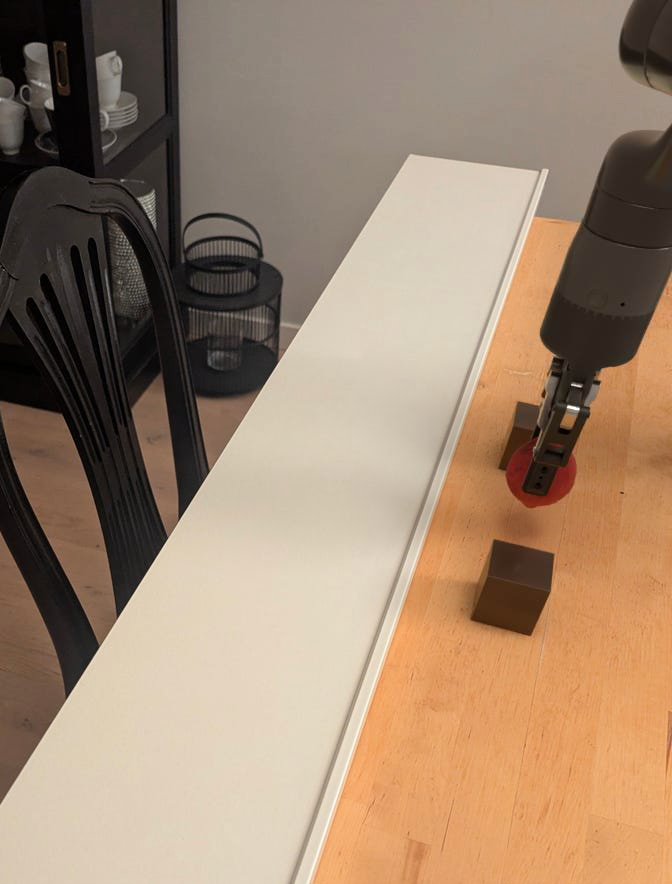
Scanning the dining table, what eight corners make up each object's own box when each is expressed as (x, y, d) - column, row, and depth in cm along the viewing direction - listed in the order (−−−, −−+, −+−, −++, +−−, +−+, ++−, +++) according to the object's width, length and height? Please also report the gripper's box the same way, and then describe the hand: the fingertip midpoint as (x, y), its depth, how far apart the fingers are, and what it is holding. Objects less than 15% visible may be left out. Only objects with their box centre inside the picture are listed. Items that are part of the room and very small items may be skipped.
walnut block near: (477, 582, 80) (493, 538, 76) (535, 597, 79) (554, 553, 75) (470, 619, 77) (487, 575, 73) (531, 635, 76) (551, 591, 72)
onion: (489, 513, 83) (517, 438, 77) (502, 479, 86) (530, 405, 81) (554, 533, 81) (587, 458, 75) (565, 498, 85) (597, 424, 79)
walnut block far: (502, 442, 96) (517, 400, 92) (551, 453, 95) (568, 411, 91) (498, 468, 92) (513, 425, 89) (548, 479, 91) (565, 437, 88)
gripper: (661, 341, 64) (575, 530, 76) (657, 261, 73) (582, 440, 85) (551, 320, 65) (484, 508, 77) (562, 244, 75) (501, 422, 87)
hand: (536, 471), depth 81 cm, fingers closed on onion, 6 cm apart
